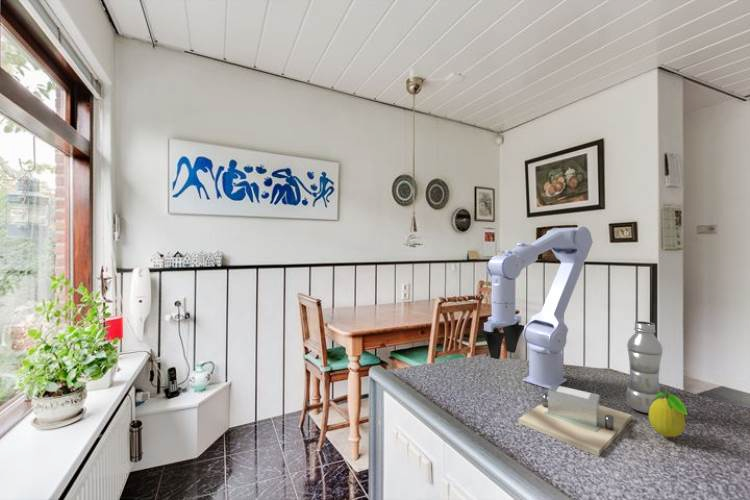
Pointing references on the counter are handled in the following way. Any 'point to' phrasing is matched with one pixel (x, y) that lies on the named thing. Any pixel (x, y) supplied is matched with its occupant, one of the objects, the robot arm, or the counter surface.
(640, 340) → the plastic bottle
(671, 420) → the lemon
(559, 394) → the block
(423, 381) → the counter surface
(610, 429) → the pin tray
